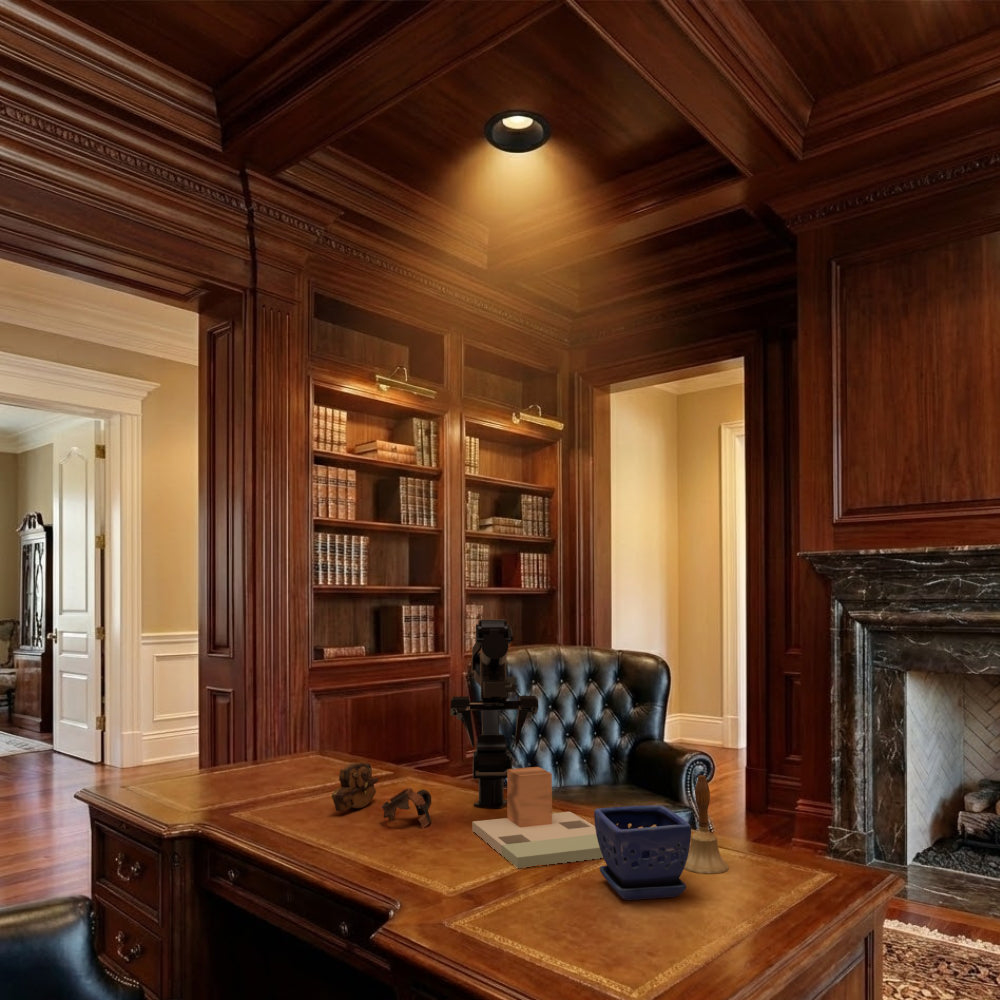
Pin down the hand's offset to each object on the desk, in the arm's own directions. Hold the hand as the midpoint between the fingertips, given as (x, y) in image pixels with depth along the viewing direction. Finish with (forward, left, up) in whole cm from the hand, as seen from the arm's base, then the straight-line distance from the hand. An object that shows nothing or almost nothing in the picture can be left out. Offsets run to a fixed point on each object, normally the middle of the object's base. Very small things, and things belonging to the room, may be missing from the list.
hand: (494, 746), depth 181 cm
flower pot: (+28, +35, -17) cm, 48 cm away
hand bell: (+13, +44, -17) cm, 48 cm away
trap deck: (+5, +11, -16) cm, 20 cm away
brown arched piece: (+2, -18, -17) cm, 25 cm away
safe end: (+14, +18, -16) cm, 28 cm away
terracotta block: (+1, +8, -14) cm, 16 cm away
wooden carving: (-5, -34, -17) cm, 39 cm away
